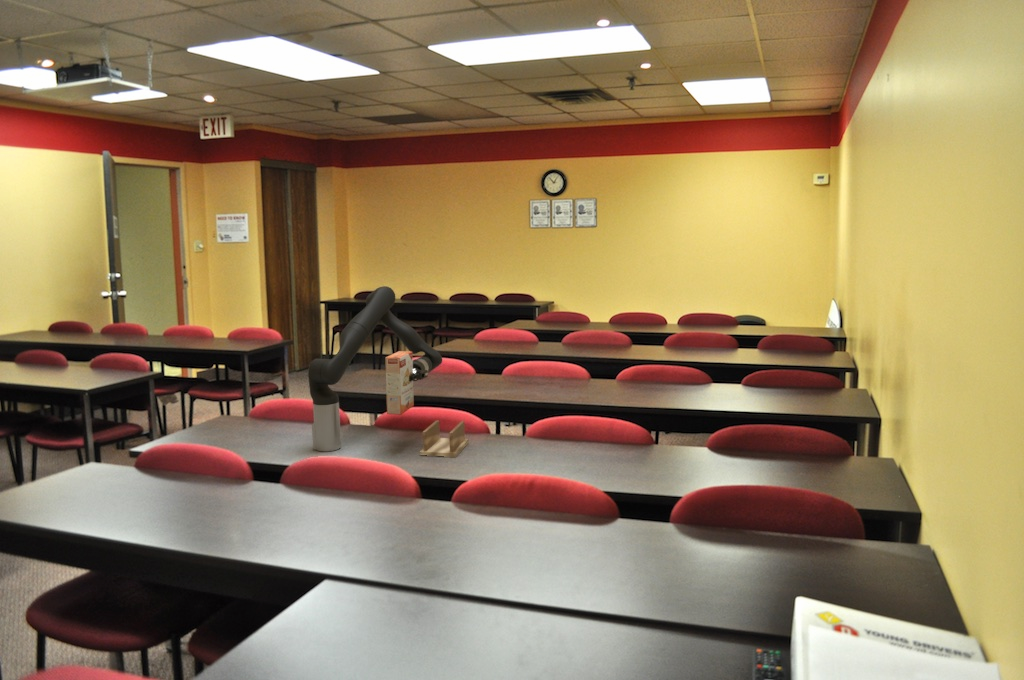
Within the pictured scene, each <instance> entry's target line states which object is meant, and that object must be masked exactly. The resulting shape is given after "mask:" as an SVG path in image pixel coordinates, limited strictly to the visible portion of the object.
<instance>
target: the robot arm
mask: <svg viewBox="0 0 1024 680" xmlns="http://www.w3.org/2000/svg"><path fill="white" fill-rule="evenodd" d="M394 291H395V290H394V289H392V288H391V287H389V286H385V285H383V286H379V287H377V288H376V289H374V290H373V291H372V292H370V293H369V294H368V295H367V297H366V299H365V304H366V306H365V307H363V309H361V311H359V312H358V313H357V314H356V315H355V316H354V317H353V318H352V319H351V320H350V321H349V322H348V323H347V325H346V326H345V327H344V328H343V329H342V331H341V333H340V335H339V350H338V351H337V352H336V354H335V355H334V356H333V357H332V358H314V359H313V360H311V361H310V363H309V366H308V369H307V373H308V375H307V376H308V384H309V394H310V398H312V408H313V409H312V411H313V423H312V424H311V433H312V435H311V436H312V449H313V451H318V452H332V451H337V450H339V448H340V449H341V448H342V441H341V440H342V438H341V435H342V434H341V420H340V419H341V416H340V400H339V394H338V393H337V392H336V391H334V390H333V389H331V388H330V386H333V385H336V384H337V383H339V381H340V380H341V379H342V378H343V376H344V374H345V372H346V370H347V369H348V367H349V366H350V364H351V362H352V360H353V358H355V356H356V354H357V353H358V352H359V351H360V349H361V347H363V345H365V342H366V341H367V340H368V339H369V337H370V336H371V334H372V333H373V332H374V329H375V328H376V327H377V325H378V324H379V322H381V323H382V324H383V325H385V326H386V327H387V328H388V329H389V330H390V331H391V332H392V333H393V334H394V335H395V336H396V337H397V338H398V339H399V340H400V341H401V343H402V344H403V346H405V347H406V349H407V351H411V352H413V355H416V354H418V353H421V352H422V353H424V354H423V355H422V356H420V357H417V358H416V359H413V374H411V375H409V381H410V382H411V381H413V382H417V381H419V380H420V381H421V380H423V379H427V378H428V377H429V373H430V372H432V371H433V370H435V369H436V368H438V367H439V366H441V364H443V363H442V362H443V356H442V355H441V354H440V352H439V351H438V350H436V349H435V348H434V347H432V346H431V345H429V344H428V343H427V342H426V341H425V340H424V339H423V338H422V337H421V335H419V333H418V332H417V331H416V330H415V329H414V328H413V327H412V326H411V325H409V324H407V323H405V322H404V321H402V320H401V319H399V318H397V316H396V315H394V313H392V311H391V310H390V309H391V308H392V307H393V306H394V305H395V302H396V293H395V292H394Z"/></svg>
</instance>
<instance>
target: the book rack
mask: <svg viewBox="0 0 1024 680" xmlns="http://www.w3.org/2000/svg"><path fill="white" fill-rule="evenodd" d="M465 427H466V425H465V421H464V420H461V421H460V422H459V423H458V424H456V425H455V427H454V428H453V429H451V430H450V432H449V435H448V437H441V436H440V434H441V433H440V432H441V431H440V420H437V419H436V420H434V422H432V423H431V424H430V425H429V426H427V428H425V429H424V430H423V431H422V445H423V448H422V449H421V450H420V451H419V456H420V455H427V456H426V457H435V456H444V457H443V458H457V456H459V454H460V453H461V452H462V451H463V450H464V448H465V447H466V446H468V444H469V438H466V433H465V431H466V430H465Z"/></svg>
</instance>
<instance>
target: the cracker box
mask: <svg viewBox="0 0 1024 680" xmlns="http://www.w3.org/2000/svg"><path fill="white" fill-rule="evenodd" d="M413 358H414V354H413V352H411V351H409V350H403V351H402V350H399V351H397V352H395V353H391V354H390V355H388V356H386V357H385V387H386V388H385V390H386V392H385V394H386V414H387V415H395V416H397V415H398V416H400V415H403V414H405V413H406V412H407V411H409V410H410V409H411V408H413V407H414V406H415V404H414V403H415V400H414V381H411V382H410V381H409V375H411V374H413V360H414V359H413Z"/></svg>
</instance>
